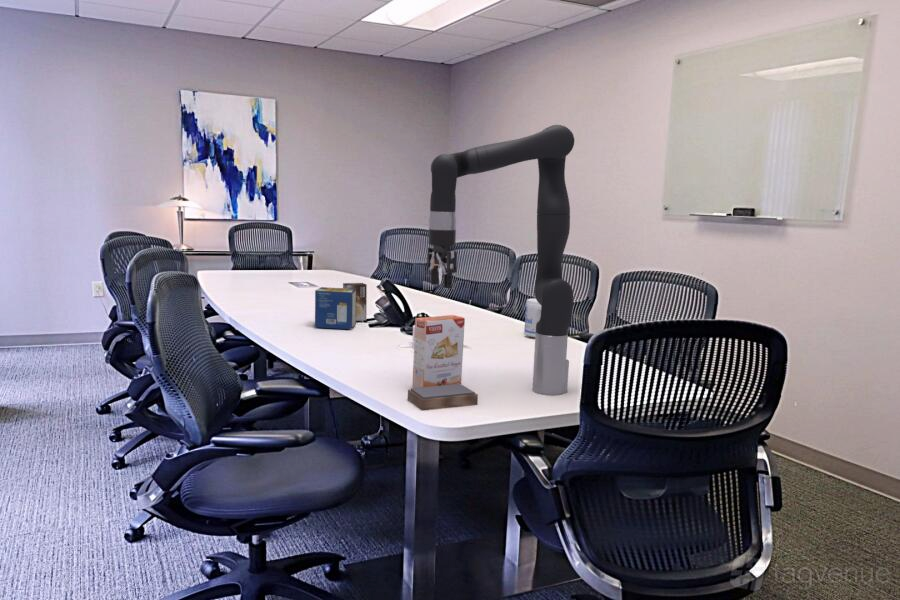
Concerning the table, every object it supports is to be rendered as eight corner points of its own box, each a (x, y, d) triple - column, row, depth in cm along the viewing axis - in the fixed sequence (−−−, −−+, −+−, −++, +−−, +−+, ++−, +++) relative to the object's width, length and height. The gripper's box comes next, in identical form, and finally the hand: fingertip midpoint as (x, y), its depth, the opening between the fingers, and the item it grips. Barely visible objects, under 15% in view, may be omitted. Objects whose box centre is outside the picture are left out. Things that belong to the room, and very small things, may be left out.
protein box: (320, 323, 290) (320, 286, 288) (356, 324, 290) (356, 288, 287) (314, 327, 280) (314, 290, 278) (351, 329, 279) (351, 291, 277)
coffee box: (362, 318, 306) (362, 282, 303) (366, 320, 300) (367, 284, 297) (342, 318, 302) (342, 282, 299) (346, 321, 296) (346, 284, 294)
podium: (460, 395, 191) (461, 383, 190) (477, 405, 182) (477, 392, 181) (407, 400, 184) (407, 388, 183) (422, 411, 175) (422, 398, 174)
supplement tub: (519, 334, 282) (521, 298, 280) (537, 332, 287) (539, 297, 285) (534, 338, 274) (536, 302, 272) (552, 336, 279) (554, 301, 277)
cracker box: (424, 395, 190) (426, 321, 187) (411, 390, 194) (413, 317, 191) (462, 387, 198) (465, 316, 195) (449, 383, 203) (452, 313, 200)
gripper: (466, 229, 185) (464, 289, 187) (443, 226, 197) (441, 282, 200) (441, 229, 181) (439, 290, 184) (419, 226, 194) (418, 283, 196)
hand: (440, 286), depth 192 cm, fingers open, 8 cm apart
